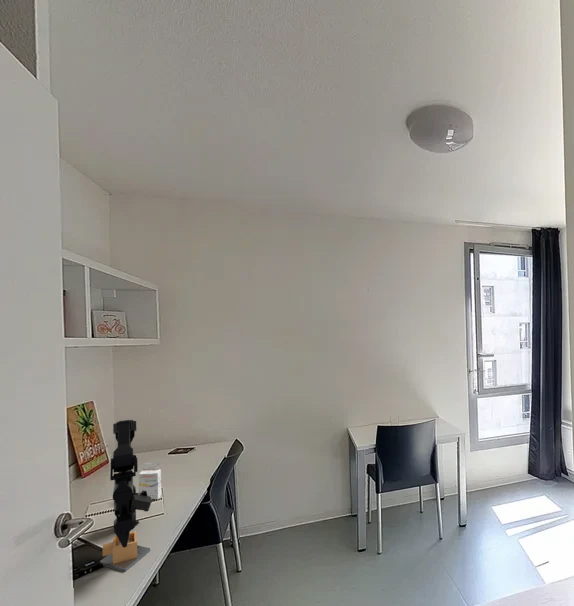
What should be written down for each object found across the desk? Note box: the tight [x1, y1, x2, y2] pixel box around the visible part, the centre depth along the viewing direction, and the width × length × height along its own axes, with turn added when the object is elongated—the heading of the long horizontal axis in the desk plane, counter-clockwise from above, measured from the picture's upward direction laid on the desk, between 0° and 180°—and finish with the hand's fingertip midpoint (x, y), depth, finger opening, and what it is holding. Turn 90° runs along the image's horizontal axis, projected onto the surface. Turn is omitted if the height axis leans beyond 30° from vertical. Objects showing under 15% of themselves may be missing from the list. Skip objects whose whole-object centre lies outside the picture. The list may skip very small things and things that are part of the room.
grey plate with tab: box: [99, 539, 151, 573], centre depth 125 cm, size 11×11×4 cm
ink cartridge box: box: [138, 462, 162, 501], centre depth 169 cm, size 9×5×15 cm, turn 92°
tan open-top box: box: [102, 530, 138, 564], centre depth 124 cm, size 7×10×5 cm
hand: (124, 539), depth 125 cm, fingers open, 9 cm apart
